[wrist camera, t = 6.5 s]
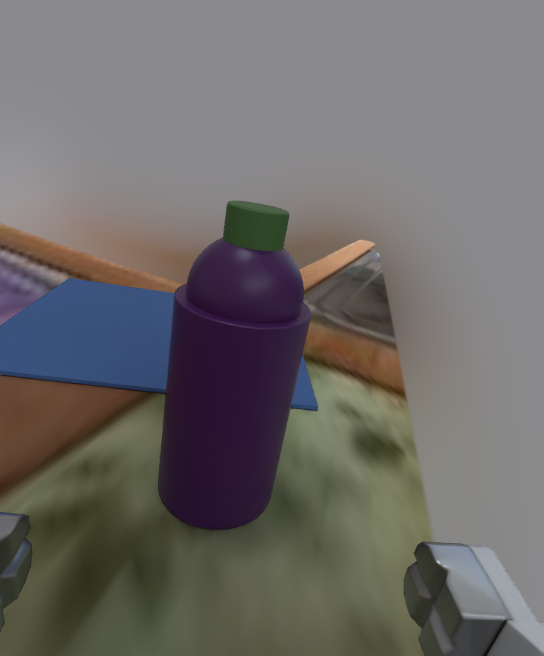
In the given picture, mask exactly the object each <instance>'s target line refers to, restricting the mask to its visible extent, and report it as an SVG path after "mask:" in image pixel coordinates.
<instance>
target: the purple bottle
mask: <svg viewBox="0 0 544 656" xmlns="http://www.w3.org/2000/svg"><path fill="white" fill-rule="evenodd" d="M288 219H289V213H288V212H287V211H286V210H283V209H280V208H277V207H273V206H268V205H263V204H258V203H252V202H244V201H229V202H228V203H227V209H226V217H225V225H224V233H223V238H221V239H219V240H217V241H215V242H214V243H212V244H210V245H209V246H208V247H207V248H206V249H204V250H203V251H202V253H201V254H200V255H199V256H198V257H197V259H196V260H195V262H194V264H193V266H192V268H191V270H190V273H189V276H188V280H187V284H184V285H182V286H180V287H179V288H178V289H177V290H176V291H175V294H174V305H173V316H172V328H171V339H170V351H169V362H168V374H167V386H166V397H165V409H164V420H163V432H162V443H161V455H160V466H159V478H158V490H159V494H160V497H161V500H162V501H163V503H164V505H165V506H166V507H167V509H168V510H169V511H170V512H171V513H172V514H173V515H175V516H176V517H177V518H179V519H180V520H182V521H184V522H186V523H188V524H191V525H193V526H196V527H200V528H205V529H216V530H221V529H230V528H235V527H239V526H242V525H244V524H246V523H248V522H250V521H252V520H254V519H255V518H256V517H258V516H259V515H260V514H261V513H262V512H263V511H264V509H265V508H266V506H267V505H268V503H269V500H270V498H271V493H272V489H273V484H274V480H275V475H276V471H277V466H278V462H279V457H280V453H281V448H282V444H283V439H284V435H285V430H286V426H287V421H288V417H289V412H290V408H291V403H292V399H293V394H294V390H295V385H296V381H297V376H298V372H299V367H300V363H301V358H302V354H303V349H304V345H305V340H306V336H307V331H308V327H309V322H310V318H311V312H310V309H309V308H308V306H307V305H306V304H305V303H303V297H304V288H303V281H302V277H301V274H300V271H299V269H298V266H297V264H296V263H295V261H294V259H293V258H292V257H291V256H290V254H289V253H288V252H287V251H286V250H285V249H284V248H283V247H284V241H285V236H286V230H287V225H288Z"/></svg>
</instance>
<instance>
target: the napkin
mask: <svg viewBox="0 0 544 656" xmlns="http://www.w3.org/2000/svg"><path fill="white" fill-rule="evenodd" d="M174 294H175V293H169V292H162V291H155V290H148V289H141V288H134V287H127V286H120V285H113V284H106V283H99V282H92V281H85V280H78V279H71V278H69V279H67V280H66V281H64V282H63V283H62V284H60V285H59V286H57V287H56V288H54V289H53V290H51V291H50V292H48V293H47V294H46V295H44V296H43V297H41V298H40V299H38V300H37V301H35V302H34V303H33V304H31V305H30V306H28V307H27V308H25V309H24V310H22V311H21V312H19V313H18V314H17V315H15V316H14V317H12V318H11V319H9V320H8V321H6V322H5V323H3V324H2V325H1V326H0V375H8V376H17V377H26V378H34V379H43V380H52V381H61V382H70V383H79V384H88V385H96V386H105V387H114V388H123V389H132V390H141V391H150V392H158V393H166V386H167V374H168V362H169V351H170V339H171V328H172V316H173V305H174ZM291 408H300V409H309V410H317V409H318V405H317V402H316V398H315V395H314V392H313V388H312V385H311V381H310V378H309V375H308V371H307V368H306V364H305V361H304V358H303V354H302V358H301V363H300V367H299V372H298V376H297V381H296V385H295V390H294V394H293V399H292V403H291Z"/></svg>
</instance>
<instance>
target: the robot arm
mask: <svg viewBox="0 0 544 656" xmlns="http://www.w3.org/2000/svg"><path fill="white" fill-rule="evenodd" d="M30 528H31V527H30V519H29V516H28V515H23V514H13V513H3V512H0V631H1V629H2V627H3V625H4V624H5V622H4V612H3V609H4V608H6V607H7V606H8V605H10V604H11V603H12V602H13V601H15V600H16V599H17V598H18V596H19V594H20V592H21V590H22V588H23V586H24V584H25V582H26V579H27V575H28V572H29V569H30V566H31V560H32V544H31V543H30V542H29V541H28V540H27V539H26V538H25V537H26V535H27V534H28V532H29V530H30ZM414 555H415V557H416V560H417V562H415V563H414V564H412V565H411V566H410V567H408V569H407V571H406V574H405V577H404V597H405V602H406V606H407V609H408V611H409V614H410V617H411V618H412V619H413V620H414V621H415V622H416V623H417V624H418V625H419V626H420V627H421V631H420V635H419V642H420V645H421V647H422V650H423V653H424V656H544V622H539V621H538V620H537V618H536V617H535V615H534V614H533V612H532V610H531V609H530V608H529V606H528V604H527V603H526V601H525V599H524V598H523V596H522V595H521V593H520V592H519V590H518V589H517V587H516V585H515V584H514V582H513V581H512V579H511V578H510V576H509V574H508V573H507V571H506V570H505V568H504V567H503V565H502V563H501V562H500V560H499V559H498V558H497V556H496V554H495V553H494V551H493V550H492V549H491V548H489V547H488V546H481V545H466V544H465V545H463V544H456V543H439V542H421V543H420V544H418V545H417V547H416V550H415V552H414Z"/></svg>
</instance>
